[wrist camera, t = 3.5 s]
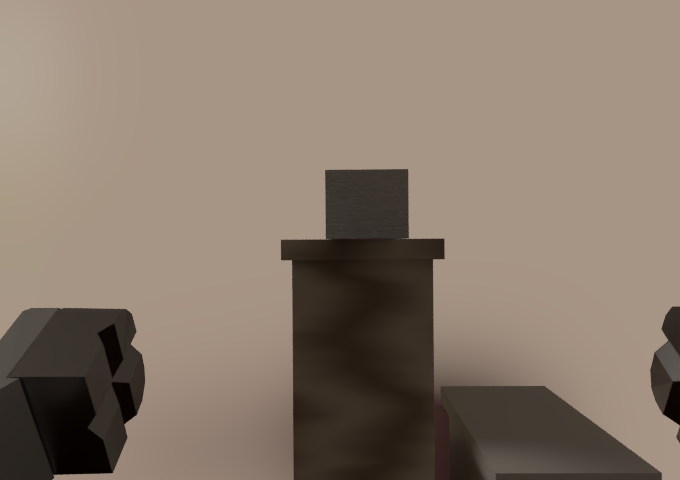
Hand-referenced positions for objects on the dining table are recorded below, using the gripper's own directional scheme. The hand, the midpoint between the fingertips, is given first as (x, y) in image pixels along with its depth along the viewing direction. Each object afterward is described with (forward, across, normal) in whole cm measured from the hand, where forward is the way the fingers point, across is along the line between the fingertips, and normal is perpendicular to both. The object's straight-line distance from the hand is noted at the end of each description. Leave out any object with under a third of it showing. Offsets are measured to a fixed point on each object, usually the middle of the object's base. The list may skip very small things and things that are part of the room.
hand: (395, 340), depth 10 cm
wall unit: (+13, 0, +36) cm, 38 cm away
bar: (+22, 0, +10) cm, 24 cm away
